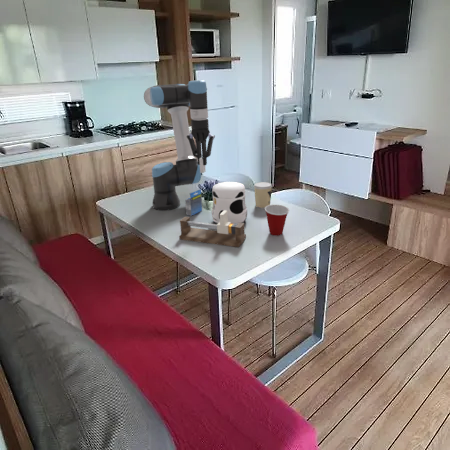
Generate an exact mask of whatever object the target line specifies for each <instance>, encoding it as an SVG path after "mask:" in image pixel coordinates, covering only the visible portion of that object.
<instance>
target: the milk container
mask: <svg viewBox="0 0 450 450" xmlns="http://www.w3.org/2000/svg"><path fill="white" fill-rule="evenodd" d="M211 191H212V209H211V217H212V220H213V222H214V223H215V224H218V223H219V222H220V214H221V213H222V212H223V211H224V210H225V211H227V216H228V222H231V223H232V224H234V223H237V224H238V223H244V222H245V221H246V220H247V217H248V207H247V205H246V187H245V185H244V184H243V183H241V182H238V181H237V182H236V181H224V182H219V183H216V184H214V185H213V186H212V190H211Z"/></svg>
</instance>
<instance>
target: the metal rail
mask: <svg viewBox="0 0 450 450" xmlns="http://www.w3.org/2000/svg"><path fill="white" fill-rule="evenodd" d="M187 226H191V227H194V228H195V227H196V228H197V227H198V228H202V229H210V230H217V223H210V222H209V223H208V222H201V221H200V222H199V221H192V220H190V221H188V222H187ZM236 226H237V223H234V224H232V223H231V224H230V225H229V226H228V228H229V233H232V234H235V227H236Z"/></svg>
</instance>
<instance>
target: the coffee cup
mask: <svg viewBox="0 0 450 450" xmlns="http://www.w3.org/2000/svg"><path fill="white" fill-rule="evenodd" d="M253 187H254V188H253V190H254V200H255V201H254V202H255V207H256V208H258V209H265V207H266V206H268V205H271V199H272V198H271V197H272V188H273V186H272V183H271V182H267V181H260V182H256V183H254V186H253Z"/></svg>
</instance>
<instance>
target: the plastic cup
mask: <svg viewBox="0 0 450 450" xmlns="http://www.w3.org/2000/svg"><path fill="white" fill-rule="evenodd" d="M264 210H265V214H266V219H267V226H268V232H269V234H270V235H271V236H276V237H279V236H281V235H282V234H283V233H284V230H285V229H284V228H285V225H286V220H287V216H288V214H289V212H290V209H289V207H287V206H284V205H282V204H270V205H268V206H266V207H265V208H264Z"/></svg>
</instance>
